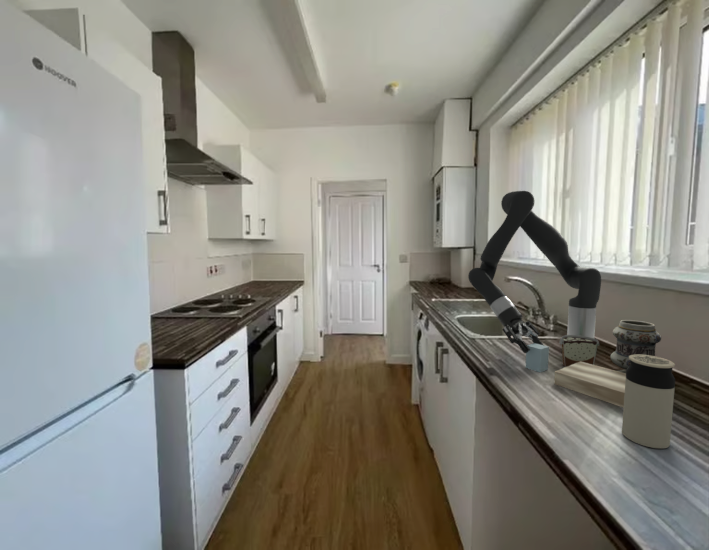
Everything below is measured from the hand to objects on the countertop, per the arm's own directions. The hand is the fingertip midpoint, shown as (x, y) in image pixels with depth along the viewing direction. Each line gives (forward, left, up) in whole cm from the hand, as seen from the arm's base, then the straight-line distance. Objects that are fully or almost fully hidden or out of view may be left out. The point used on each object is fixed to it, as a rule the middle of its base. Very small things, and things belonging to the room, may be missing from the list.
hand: (534, 349), depth 115 cm
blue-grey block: (0, +1, -6) cm, 7 cm away
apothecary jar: (-18, +22, -7) cm, 29 cm away
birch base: (0, +20, -6) cm, 21 cm away
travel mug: (+21, +37, -7) cm, 43 cm away
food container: (-15, +6, -7) cm, 17 cm away
